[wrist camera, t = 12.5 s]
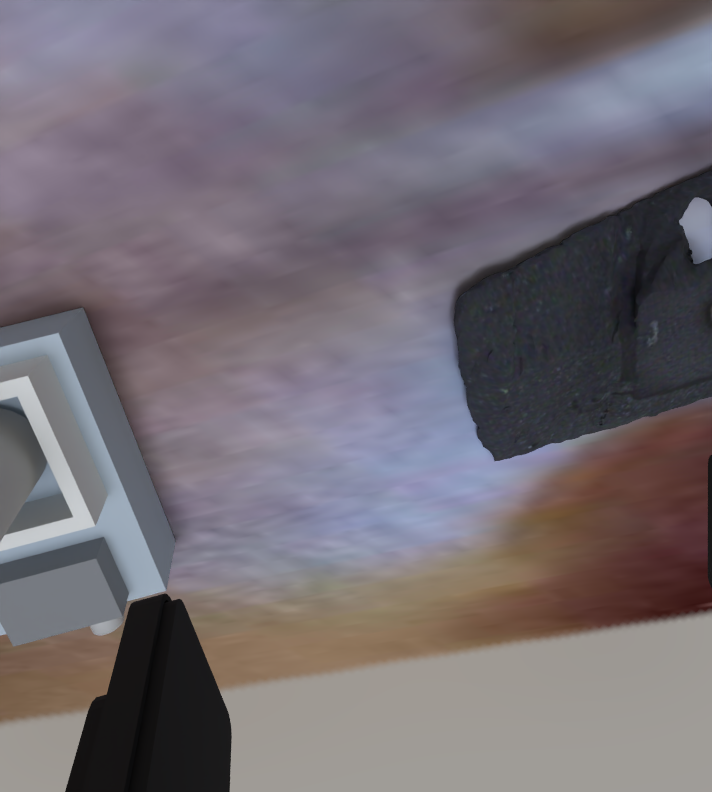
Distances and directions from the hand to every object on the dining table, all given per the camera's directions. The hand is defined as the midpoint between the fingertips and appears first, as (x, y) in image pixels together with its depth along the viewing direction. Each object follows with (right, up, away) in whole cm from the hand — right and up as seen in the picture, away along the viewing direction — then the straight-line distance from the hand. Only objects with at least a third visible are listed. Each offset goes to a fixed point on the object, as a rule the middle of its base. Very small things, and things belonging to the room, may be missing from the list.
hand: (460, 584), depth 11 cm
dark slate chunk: (+15, +8, +31) cm, 35 cm away
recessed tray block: (-20, -2, +28) cm, 35 cm away
